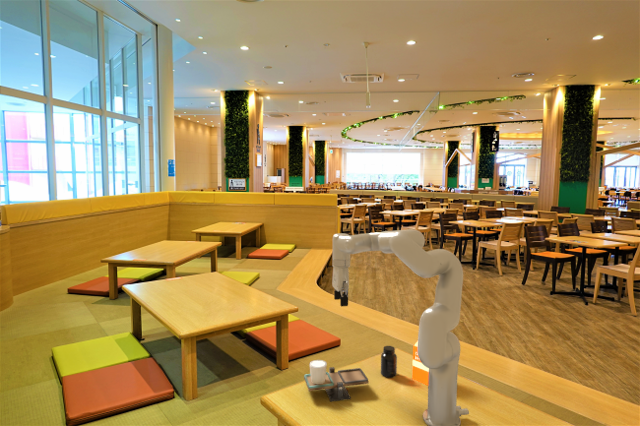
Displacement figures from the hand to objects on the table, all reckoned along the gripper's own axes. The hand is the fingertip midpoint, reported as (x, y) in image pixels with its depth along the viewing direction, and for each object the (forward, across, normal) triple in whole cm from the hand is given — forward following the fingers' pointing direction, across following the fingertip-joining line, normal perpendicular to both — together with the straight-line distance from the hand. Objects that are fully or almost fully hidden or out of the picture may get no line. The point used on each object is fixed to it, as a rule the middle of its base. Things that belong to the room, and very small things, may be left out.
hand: (340, 302), depth 163 cm
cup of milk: (+28, +11, -12) cm, 32 cm away
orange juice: (+32, +10, +35) cm, 49 cm away
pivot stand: (+32, +11, -5) cm, 34 cm away
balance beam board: (+28, +11, -5) cm, 30 cm away
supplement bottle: (+32, +3, +21) cm, 39 cm away
